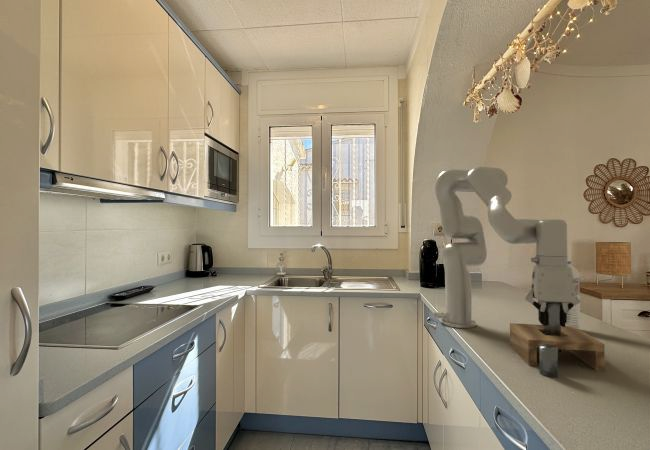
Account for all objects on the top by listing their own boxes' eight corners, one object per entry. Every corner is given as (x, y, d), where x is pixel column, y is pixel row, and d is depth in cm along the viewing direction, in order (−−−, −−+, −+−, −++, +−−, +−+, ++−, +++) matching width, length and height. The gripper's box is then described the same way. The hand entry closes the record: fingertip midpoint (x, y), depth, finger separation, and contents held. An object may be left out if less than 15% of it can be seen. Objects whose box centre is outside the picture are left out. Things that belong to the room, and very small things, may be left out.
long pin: (548, 351, 97) (547, 295, 97) (542, 346, 101) (541, 292, 101) (563, 352, 96) (563, 295, 96) (557, 347, 100) (556, 293, 100)
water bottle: (558, 330, 123) (558, 261, 123) (556, 325, 129) (555, 259, 129) (582, 333, 120) (581, 262, 120) (578, 328, 126) (577, 260, 126)
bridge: (528, 365, 93) (528, 339, 93) (510, 345, 108) (509, 323, 108) (604, 370, 89) (604, 344, 89) (574, 349, 104) (573, 326, 104)
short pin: (543, 376, 86) (542, 349, 86) (536, 370, 90) (536, 343, 90) (561, 378, 85) (560, 350, 85) (553, 371, 89) (553, 344, 89)
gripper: (524, 262, 97) (525, 327, 97) (591, 263, 93) (592, 330, 93) (515, 260, 104) (516, 320, 104) (577, 261, 101) (578, 323, 100)
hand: (552, 324), depth 99 cm, fingers closed on long pin, 4 cm apart
